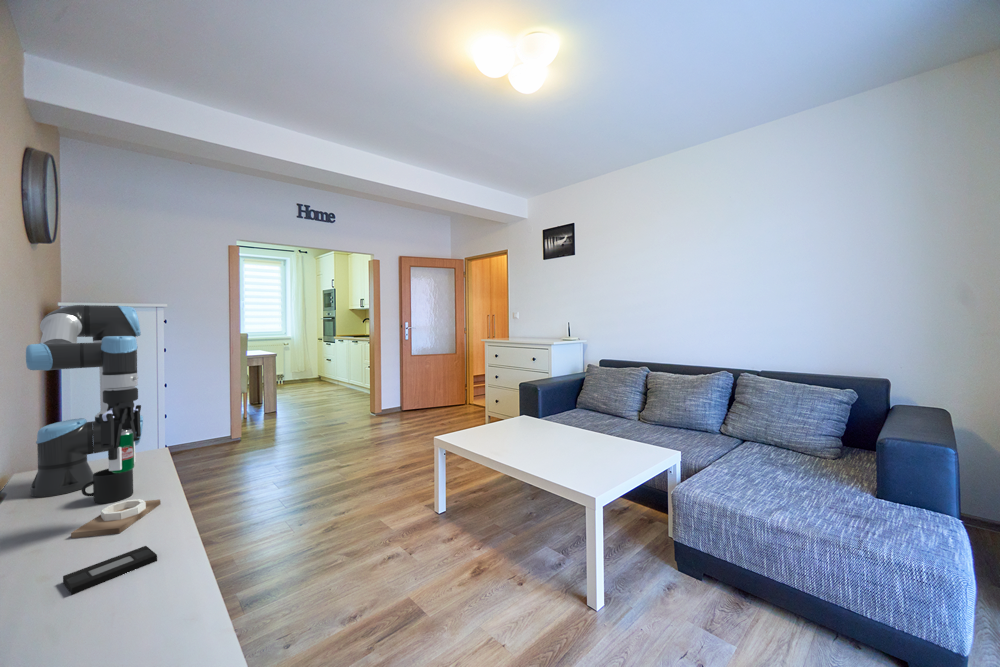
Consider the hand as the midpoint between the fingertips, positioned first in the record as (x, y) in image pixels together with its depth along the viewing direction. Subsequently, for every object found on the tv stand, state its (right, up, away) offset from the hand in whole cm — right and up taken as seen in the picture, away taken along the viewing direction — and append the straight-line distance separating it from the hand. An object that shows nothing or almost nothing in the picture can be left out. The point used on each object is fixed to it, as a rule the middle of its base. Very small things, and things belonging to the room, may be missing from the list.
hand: (122, 466), depth 116 cm
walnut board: (0, -16, 0) cm, 15 cm away
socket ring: (0, -14, +1) cm, 14 cm away
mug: (-17, -15, +13) cm, 27 cm away
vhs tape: (+21, -17, -25) cm, 37 cm away
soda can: (0, -1, 0) cm, 1 cm away
